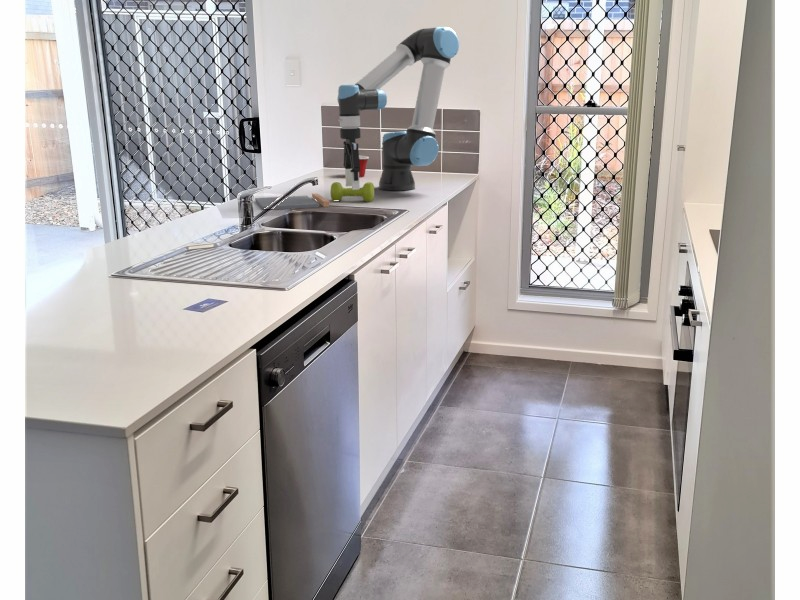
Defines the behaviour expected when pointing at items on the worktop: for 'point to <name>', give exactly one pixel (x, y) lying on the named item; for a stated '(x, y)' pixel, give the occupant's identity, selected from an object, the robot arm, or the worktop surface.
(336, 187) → the dumbbell
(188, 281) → the worktop surface
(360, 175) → the plastic cup
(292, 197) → the board
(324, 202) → the strip
